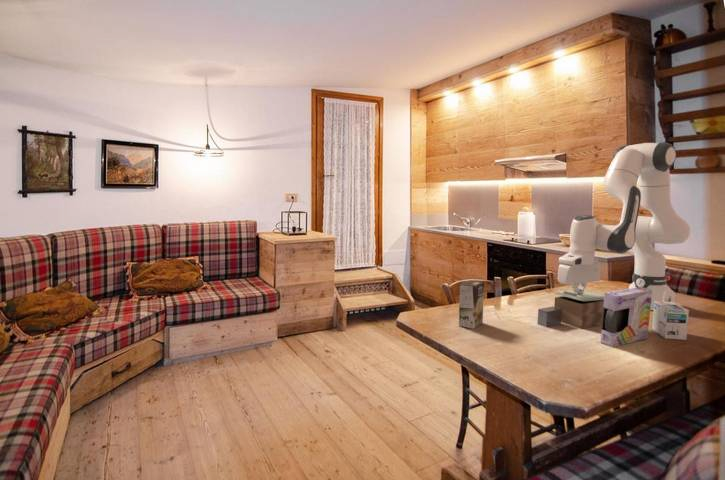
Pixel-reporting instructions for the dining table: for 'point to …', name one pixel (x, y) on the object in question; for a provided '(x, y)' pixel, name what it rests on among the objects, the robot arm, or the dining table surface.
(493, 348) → the dining table surface
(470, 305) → the coffee box
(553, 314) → the block
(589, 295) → the lid
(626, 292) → the cake pan box
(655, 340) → the dining table surface
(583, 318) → the crate
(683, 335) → the light bulb box
